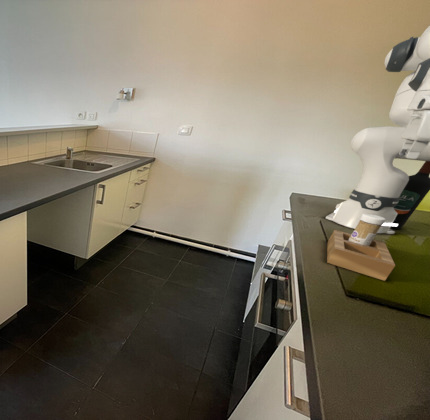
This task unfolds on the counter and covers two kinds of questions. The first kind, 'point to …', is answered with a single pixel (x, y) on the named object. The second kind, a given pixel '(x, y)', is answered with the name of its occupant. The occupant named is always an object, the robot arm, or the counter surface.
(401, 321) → the counter surface
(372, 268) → the hole block
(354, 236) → the sprinkles bottle
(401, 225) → the wine bottle
